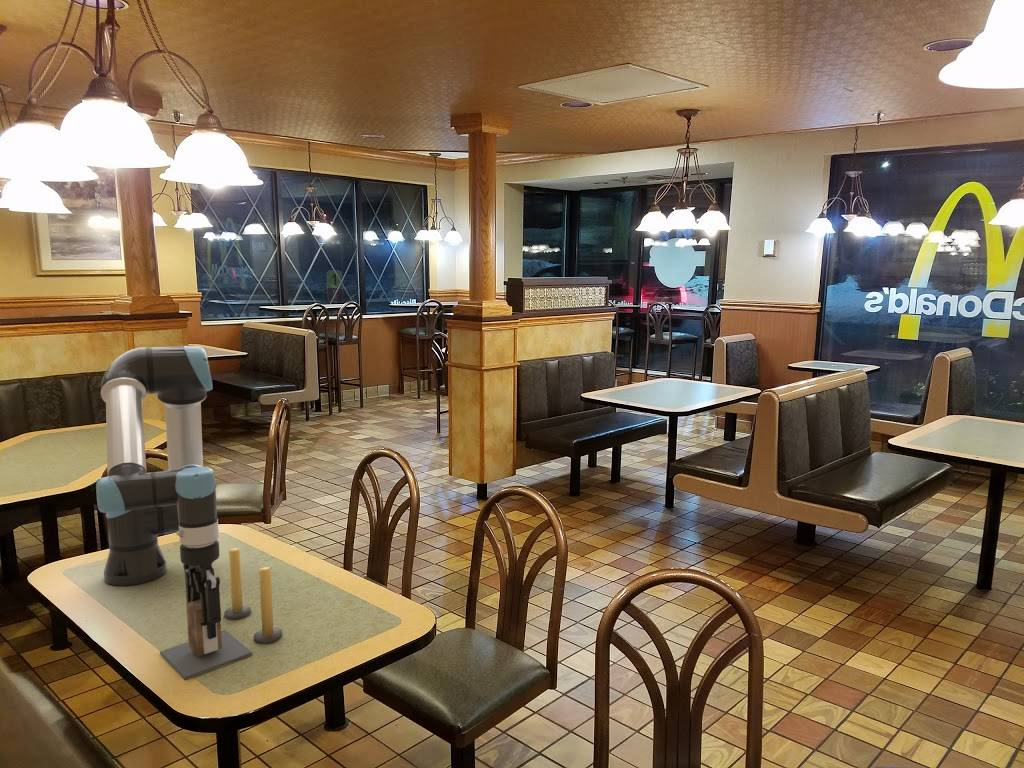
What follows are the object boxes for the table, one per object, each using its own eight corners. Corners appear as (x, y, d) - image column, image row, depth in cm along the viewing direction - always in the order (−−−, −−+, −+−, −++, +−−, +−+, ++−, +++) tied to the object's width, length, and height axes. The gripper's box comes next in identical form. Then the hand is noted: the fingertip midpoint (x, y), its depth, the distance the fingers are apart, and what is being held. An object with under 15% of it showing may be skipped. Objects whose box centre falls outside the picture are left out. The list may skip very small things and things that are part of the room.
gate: (220, 613, 171) (216, 549, 169) (244, 605, 175) (241, 543, 173) (261, 646, 156) (257, 576, 153) (286, 637, 160) (283, 569, 158)
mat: (160, 654, 152) (160, 651, 152) (225, 632, 162) (224, 629, 162) (184, 679, 142) (184, 677, 142) (252, 654, 152) (252, 652, 152)
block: (189, 647, 152) (186, 603, 151) (212, 639, 156) (209, 596, 154) (198, 656, 149) (195, 610, 147) (221, 647, 152) (219, 603, 151)
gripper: (165, 535, 153) (172, 637, 156) (197, 558, 140) (204, 669, 143) (200, 527, 158) (206, 625, 161) (235, 548, 145) (240, 655, 148)
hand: (205, 646), depth 152 cm, fingers closed on block, 5 cm apart
